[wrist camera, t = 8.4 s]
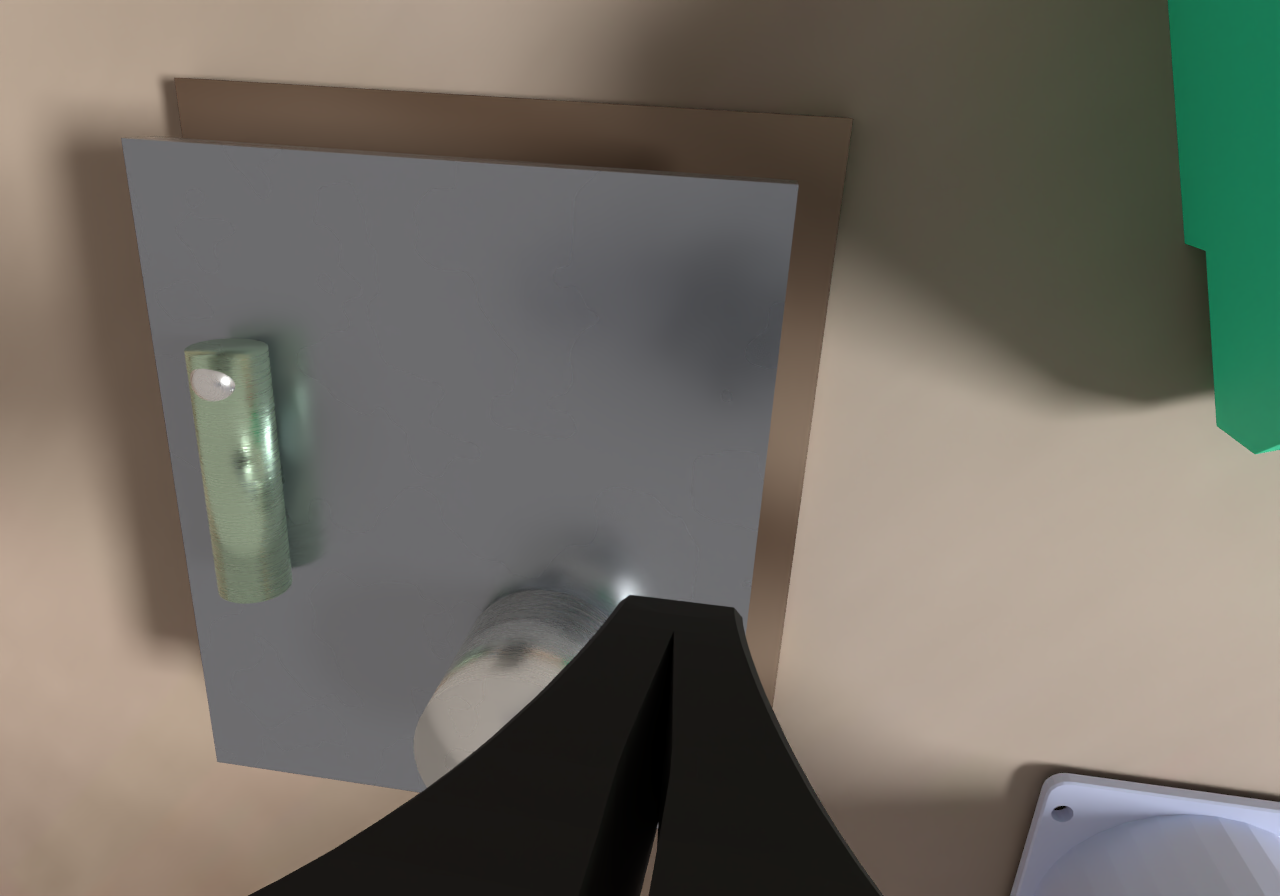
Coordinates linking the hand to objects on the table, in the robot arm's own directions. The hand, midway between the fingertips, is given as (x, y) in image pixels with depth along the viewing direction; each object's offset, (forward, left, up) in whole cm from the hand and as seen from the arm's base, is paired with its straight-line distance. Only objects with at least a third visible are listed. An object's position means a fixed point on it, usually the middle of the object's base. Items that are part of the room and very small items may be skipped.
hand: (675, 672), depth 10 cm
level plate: (-2, +5, -7) cm, 9 cm away
